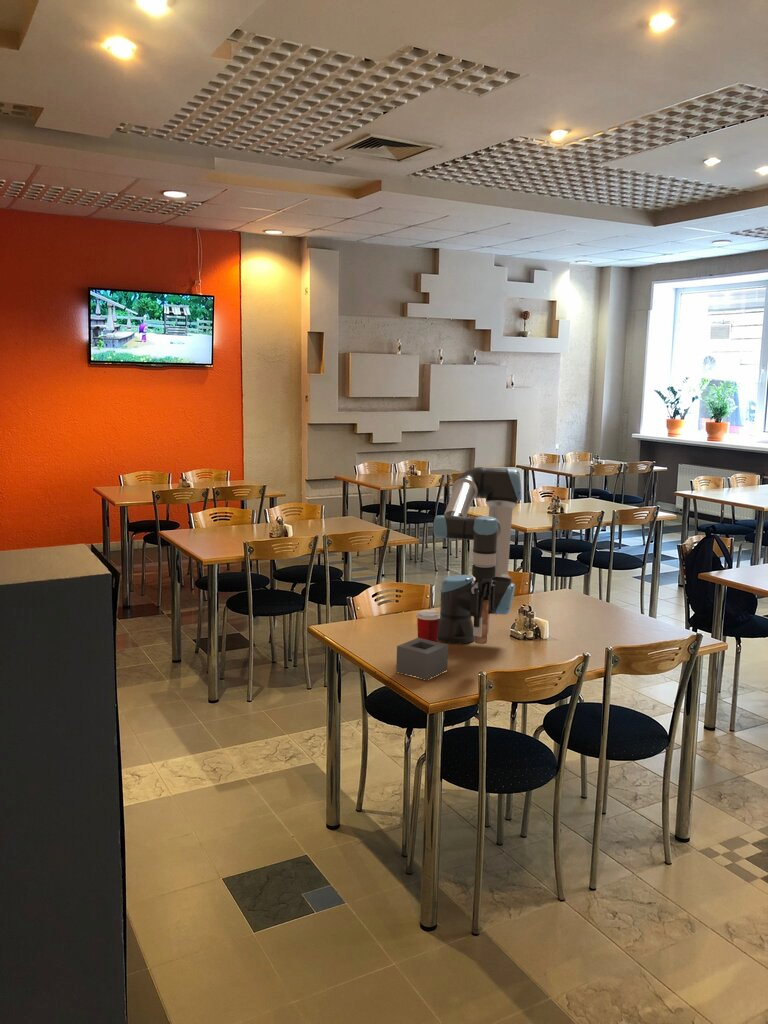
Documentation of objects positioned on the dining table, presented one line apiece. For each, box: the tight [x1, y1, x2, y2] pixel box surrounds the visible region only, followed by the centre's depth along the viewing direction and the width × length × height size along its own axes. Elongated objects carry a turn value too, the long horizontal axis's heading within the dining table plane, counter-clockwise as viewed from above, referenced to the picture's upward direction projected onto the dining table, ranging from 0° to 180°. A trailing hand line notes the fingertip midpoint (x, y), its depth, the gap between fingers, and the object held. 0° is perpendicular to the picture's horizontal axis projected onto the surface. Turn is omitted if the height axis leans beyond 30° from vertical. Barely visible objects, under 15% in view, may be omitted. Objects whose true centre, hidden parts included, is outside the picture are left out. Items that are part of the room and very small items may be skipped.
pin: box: [474, 599, 489, 645], centre depth 280 cm, size 4×4×14 cm
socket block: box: [395, 637, 449, 681], centre depth 279 cm, size 12×12×9 cm
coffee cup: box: [415, 609, 440, 642], centre depth 297 cm, size 8×8×15 cm
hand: (481, 634), depth 280 cm, fingers closed on pin, 4 cm apart
